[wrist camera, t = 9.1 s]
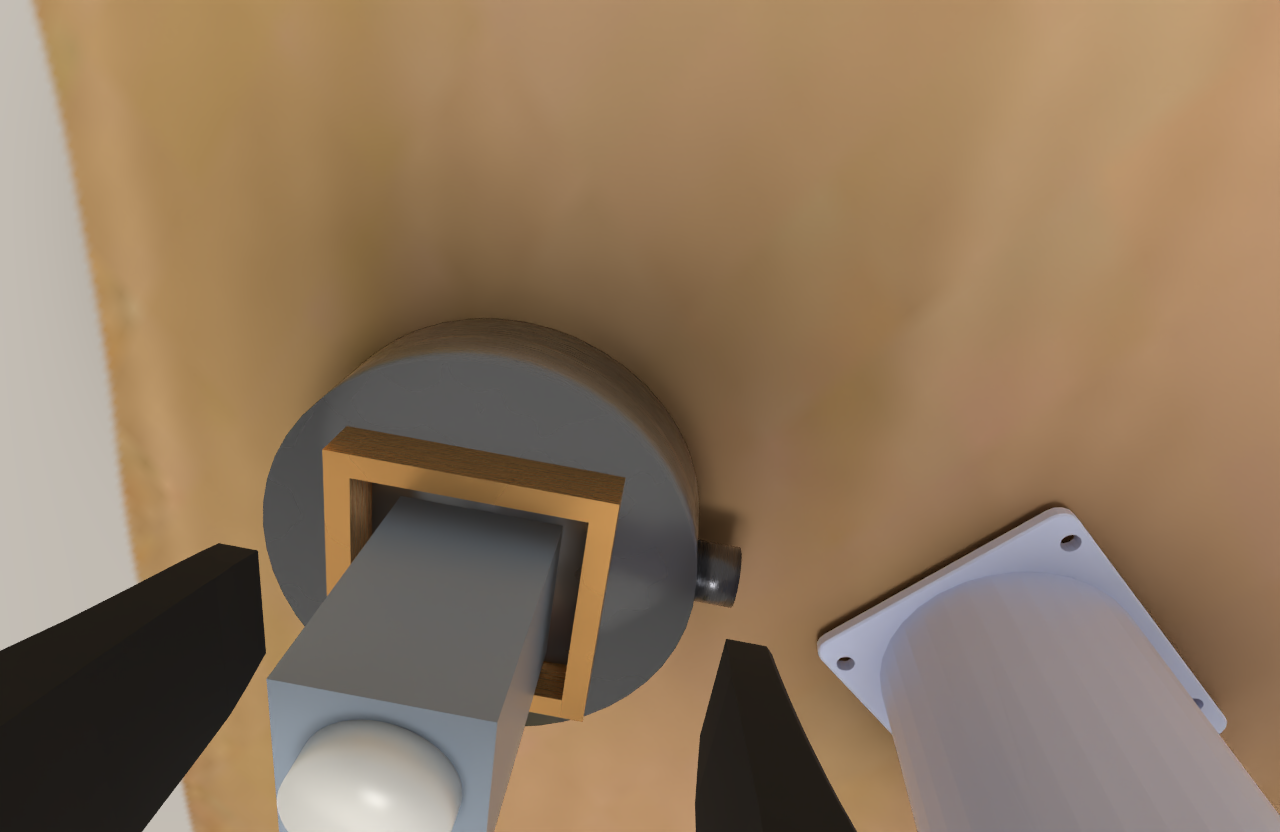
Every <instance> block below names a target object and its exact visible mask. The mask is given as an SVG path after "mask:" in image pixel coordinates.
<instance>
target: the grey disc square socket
mask: <svg viewBox="0 0 1280 832" xmlns="http://www.w3.org/2000/svg"><path fill="white" fill-rule="evenodd" d="M400 496H403V497H409V498H414V499H419V500H425V501H430V502H436V503H441V504H446V505H452V506H457V507H463V508H468V509H473V510H479V511H484V512H490V513H495V514H500V515H506V516H511V517H517V518H522V519H528V520H533V521H538V522H544V523H549V524H555V525H560V526H563V531H562V538H561V546H560V554H559V561H558V569H557V576H556V584H555V591H554V599H553V606H552V614H551V621H550V629H549V637H548V644H547V651H546V655H545V658H544V662H543V665H542V669H541V672H540V675H539V679H538V682H537V686H536V689H535V693H534V696H533V699H532V703H531V706H530V710H529V713H528V717H527V720H526V723H525V726H538V725H545V724H552V723H558V722H564V721H568V720H575V721H580V722H582V721H583V716H586V715H588V714H591V713H593V712H596V711H598V710H601V709H603V708H606V707H608V706H610V705H612V704H614V703H615V702H617V701H619V700H621V699H623V698H624V697H626V696H628V695H629V694H631V693H632V692H633V691H635V690H636V689H637V688H639V687H640V686H641V685H643V684H644V683H645V682H647V681H648V680H649V679H650V678H651V677H652V676H653V675H654V674H655V673H656V672H657V671H658V670H659V669H660V668H661V667H662V666H663V664H664V663H665V661H666V660H667V659H668V657H669V656H670V655H671V653H672V652H673V651H674V649H675V648H676V646H677V644H678V642H679V640H680V638H681V636H682V634H683V632H684V630H685V629H686V626H687V623H688V620H689V617H690V614H691V610H692V607H693V602H694V601H697V602H703V603H708V604H713V605H719V606H724V607H729V608H731V607H732V606H733V603H734V601H735V597H736V593H737V589H738V584H739V578H740V571H741V558H742V553H741V548H740V547H734V546H729V545H724V544H718V543H713V542H708V541H702V540H698V533H699V491H698V485H697V479H696V473H695V469H694V466H693V463H692V460H691V457H690V453H689V450H688V448H687V446H686V444H685V442H684V440H683V437H682V435H681V433H680V431H679V429H678V427H677V426H676V424H675V423H674V421H673V420H672V418H671V417H670V415H669V413H668V412H667V410H666V409H665V407H664V406H663V405H662V404H661V402H660V401H659V400H658V399H657V398H656V397H655V396H654V394H653V393H652V392H651V391H650V390H649V389H648V387H647V386H646V385H645V384H643V383H642V382H641V381H640V380H639V379H638V378H637V377H636V376H635V375H633V374H632V373H631V372H630V371H629V370H628V369H627V368H625V367H624V366H623V365H621V364H620V363H618V362H617V361H615V360H614V359H612V358H611V357H610V356H608V355H607V354H605V353H604V352H602V351H600V350H598V349H596V348H595V347H593V346H591V345H589V344H587V343H585V342H583V341H581V340H579V339H577V338H575V337H572V336H569V335H567V334H564V333H561V332H559V331H556V330H553V329H550V328H546V327H542V326H538V325H534V324H530V323H526V322H520V321H511V320H503V319H466V320H459V321H452V322H445V323H440V324H437V325H433V326H430V327H426V328H423V329H419V330H417V331H414V332H412V333H410V334H408V335H406V336H403V337H401V338H399V339H397V340H395V341H393V342H392V343H390V344H388V345H387V346H385V347H384V348H382V349H381V350H379V351H378V352H376V353H375V354H373V355H372V356H371V357H370V358H369V359H368V360H366V361H365V362H364V363H363V364H362V365H360V366H359V367H358V368H357V369H356V370H355V371H353V372H352V373H351V374H350V375H349V376H347V377H346V378H345V379H344V380H343V381H341V382H340V383H339V384H338V385H337V386H336V387H334V388H333V389H332V390H331V391H330V392H328V393H327V394H326V395H325V396H324V397H323V398H321V399H320V400H319V401H318V402H317V403H316V404H315V405H314V406H312V407H311V408H310V409H309V410H308V411H307V412H306V413H305V414H303V415H302V416H301V418H300V419H299V420H298V421H297V423H296V424H295V425H294V426H293V428H292V429H291V430H290V431H289V433H288V434H287V435H286V437H285V439H284V441H283V443H282V444H281V446H280V448H279V450H278V452H277V453H276V455H275V458H274V460H273V463H272V466H271V469H270V472H269V475H268V478H267V483H266V489H265V495H264V501H263V527H264V534H265V541H266V547H267V552H268V555H269V558H270V562H271V565H272V568H273V572H274V574H275V576H276V578H277V581H278V583H279V585H280V587H281V590H282V592H283V594H284V596H285V597H286V599H287V601H288V602H289V604H290V606H291V607H292V609H293V611H294V612H295V614H296V616H297V617H298V618H299V619H300V621H301V622H302V623H303V625H304V626H306V625H307V623H308V622H309V620H310V619H311V618H312V616H313V615H314V614H315V612H316V611H317V610H318V608H319V607H320V605H321V604H322V603H323V601H324V600H325V599H326V597H327V596H328V595H329V593H330V592H331V590H332V589H333V588H334V586H335V585H336V584H337V582H338V581H339V580H340V578H341V577H342V575H343V574H344V573H345V571H346V570H347V569H348V567H349V566H350V565H351V563H352V562H353V560H354V559H355V558H356V556H357V555H358V554H359V552H360V551H361V550H362V548H363V547H364V545H365V544H366V543H367V541H368V540H369V539H370V537H371V536H372V535H373V533H374V532H375V530H376V529H377V528H378V526H379V525H380V524H381V522H382V521H383V520H384V518H385V517H386V515H387V514H388V513H389V511H390V510H391V509H392V507H393V506H394V505H395V503H396V502H397V500H398V499H399V498H400Z"/></svg>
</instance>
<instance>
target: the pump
mask: <svg viewBox="0 0 1280 832" xmlns="http://www.w3.org/2000/svg"><path fill="white" fill-rule="evenodd" d="M562 531H563V526H560V525H555V524H549V523H544V522H538V521H533V520H528V519H522V518H517V517H511V516H506V515H500V514H495V513H490V512H484V511H479V510H473V509H468V508H463V507H457V506H452V505H446V504H441V503H436V502H430V501H425V500H419V499H414V498H409V497H403V496H400V498H399V499H398V500H397V502H396V503H395V505H394V506H393V507H392V509H391V510H390V511H389V513H388V514H387V515H386V517H385V518H384V520H383V521H382V522H381V524H380V525H379V526H378V528H377V529H376V530H375V532H374V533H373V535H372V536H371V537H370V539H369V540H368V541H367V543H366V544H365V545H364V547H363V548H362V550H361V551H360V552H359V554H358V555H357V556H356V558H355V559H354V560H353V562H352V563H351V565H350V566H349V567H348V569H347V570H346V571H345V573H344V574H343V575H342V577H341V578H340V580H339V581H338V582H337V584H336V585H335V586H334V588H333V589H332V590H331V592H330V593H329V595H328V596H327V597H326V599H325V600H324V601H323V603H322V604H321V605H320V607H319V608H318V610H317V611H316V612H315V614H314V615H313V616H312V618H311V619H310V620H309V622H308V623H307V625H306V626H305V627H304V629H303V630H302V631H301V633H300V634H299V635H298V637H297V638H296V640H295V641H294V642H293V644H292V645H291V646H290V648H289V649H288V650H287V652H286V653H285V655H284V656H283V657H282V659H281V660H280V661H279V663H278V664H277V665H276V667H275V668H274V670H273V671H272V672H271V674H270V675H269V676H268V678H267V689H268V701H269V713H270V725H271V737H272V750H273V762H274V774H275V786H276V798H277V810H278V822H279V832H494V830H495V826H496V823H497V820H498V816H499V813H500V809H501V806H502V802H503V799H504V796H505V792H506V789H507V785H508V782H509V778H510V775H511V772H512V768H513V765H514V761H515V758H516V754H517V751H518V748H519V744H520V741H521V737H522V734H523V730H524V727H525V723H526V720H527V717H528V713H529V710H530V706H531V703H532V699H533V696H534V693H535V689H536V686H537V682H538V679H539V675H540V672H541V669H542V665H543V662H544V658H545V655H546V651H547V644H548V637H549V629H550V621H551V614H552V606H553V599H554V591H555V584H556V576H557V569H558V561H559V554H560V546H561V538H562Z"/></svg>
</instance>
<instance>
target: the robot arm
mask: <svg viewBox="0 0 1280 832" xmlns="http://www.w3.org/2000/svg"><path fill="white" fill-rule="evenodd" d="M1069 535H1075V536H1074V538H1073V539H1072V540H1071V541H1070V542H1066V543H1061V540H1062V539H1063V538H1065V537H1066V536H1069ZM817 650H818V655H819V657H820V659H821V660H822V661H823V662H824V663H825V664H826V665H827V666H828V667H829V669H830V670H831V671H832V672H833V673H834V674H835V675H836V676H837V677H838V678H839V679H840V680H841V681H842V682H843V683H844V684H845V685H846V686H847V688H848V689H849V690H850V691H851V692H852V693H853V694H854V695H855V696H856V697H857V698H858V699H859V700H860V701H861V702H862V703H863V704H864V706H865V707H866V708H867V709H868V710H869V711H870V712H871V713H872V714H873V715H874V716H875V717H876V718H877V719H878V720H879V721H880V722H881V724H882V725H883V726H884V727H885V728H886V729H887V730H888V731H889V732H890V733H891V734H892V735H893V739H894V743H895V747H896V751H897V754H898V758H899V762H900V766H901V770H902V774H903V778H904V781H905V785H906V789H907V793H908V797H909V801H910V804H911V808H912V812H913V816H914V820H915V824H916V828H917V831H918V832H1280V815H1279V814H1278V813H1277V811H1276V810H1275V809H1274V807H1273V806H1272V805H1271V803H1270V802H1269V801H1268V799H1267V798H1266V797H1265V795H1264V794H1263V792H1262V791H1261V790H1260V788H1259V787H1258V786H1257V784H1256V783H1255V782H1254V780H1253V779H1252V778H1251V776H1250V775H1249V774H1248V772H1247V771H1246V770H1245V768H1244V767H1243V766H1242V764H1241V763H1240V762H1239V760H1238V759H1237V758H1236V756H1235V755H1234V754H1233V752H1232V751H1231V750H1230V748H1229V747H1228V746H1227V744H1226V743H1225V742H1224V740H1223V739H1222V738H1221V736H1220V735H1219V734H1220V733H1221V732H1222V731H1223V730H1224V729H1225V728H1226V725H1227V720H1226V717H1225V716H1224V715H1223V713H1222V712H1221V711H1220V709H1219V708H1218V707H1217V705H1216V704H1215V703H1214V701H1213V700H1212V699H1211V697H1210V696H1209V695H1208V693H1207V692H1206V691H1205V689H1204V688H1203V686H1202V685H1201V684H1200V682H1199V681H1198V680H1197V678H1196V677H1195V676H1194V674H1193V673H1192V672H1191V670H1190V669H1189V668H1188V666H1187V665H1186V664H1185V662H1184V661H1183V660H1182V658H1181V657H1180V656H1179V654H1178V653H1177V651H1176V650H1175V649H1174V647H1173V646H1172V645H1171V643H1170V642H1169V641H1168V639H1167V638H1166V637H1165V635H1164V634H1163V633H1162V631H1161V630H1160V629H1159V627H1158V626H1157V625H1156V623H1155V622H1154V620H1153V619H1152V618H1151V616H1150V615H1149V614H1148V612H1147V611H1146V610H1145V608H1144V607H1143V606H1142V604H1141V603H1140V602H1139V600H1138V599H1137V598H1136V596H1135V595H1134V594H1133V592H1132V591H1131V589H1130V588H1129V587H1128V585H1127V584H1126V583H1125V581H1124V580H1123V579H1122V577H1121V576H1120V575H1119V573H1118V572H1117V571H1116V569H1115V568H1114V567H1113V565H1112V564H1111V563H1110V561H1109V560H1108V558H1107V557H1106V556H1105V554H1104V553H1103V552H1102V550H1101V549H1100V548H1099V546H1098V545H1097V544H1096V542H1095V541H1094V540H1093V538H1092V537H1091V536H1090V534H1089V533H1088V532H1087V530H1086V529H1085V527H1084V526H1083V525H1082V523H1081V522H1080V521H1079V519H1078V518H1077V517H1076V516H1075V514H1074V513H1073V512H1071V511H1070V510H1069V509H1066V508H1063V507H1056V508H1051V509H1049V510H1046V511H1044V512H1043V513H1041V514H1039V515H1037V516H1035V517H1034V518H1032V519H1030V520H1028V521H1026V522H1025V523H1023V524H1021V525H1019V526H1017V527H1016V528H1014V529H1012V530H1010V531H1008V532H1007V533H1005V534H1003V535H1001V536H999V537H998V538H996V539H994V540H992V541H990V542H989V543H987V544H985V545H983V546H981V547H980V548H978V549H976V550H974V551H973V552H971V553H969V554H967V555H965V556H964V557H962V558H960V559H958V560H956V561H955V562H953V563H951V564H949V565H947V566H946V567H944V568H942V569H940V570H938V571H937V572H935V573H933V574H931V575H929V576H928V577H926V578H924V579H922V580H920V581H919V582H917V583H915V584H913V585H912V586H910V587H908V588H906V589H904V590H903V591H901V592H899V593H897V594H895V595H894V596H892V597H890V598H888V599H886V600H885V601H883V602H881V603H879V604H877V605H876V606H874V607H872V608H870V609H868V610H867V611H865V612H863V613H861V614H859V615H858V616H856V617H854V618H852V619H850V620H849V621H847V622H845V623H843V624H842V625H840V626H838V627H836V628H834V629H833V630H831V631H829V632H827V633H825V634H824V635H823V636H821V637H820V638H819V640H818V642H817ZM265 653H266V648H265V636H264V623H263V610H262V598H261V585H260V573H259V560H258V551H257V550H252V549H246V548H241V547H236V546H230V545H225V544H220V543H218V544H216V545H214V546H212V547H210V548H208V549H205V550H203V551H201V552H199V553H197V554H195V555H193V556H191V557H189V558H187V559H185V560H183V561H181V562H179V563H177V564H175V565H173V566H171V567H169V568H167V569H165V570H164V571H162V572H160V573H158V574H156V575H154V576H152V577H150V578H148V579H146V580H144V581H142V582H140V583H138V584H136V585H134V586H133V587H131V588H129V589H127V590H125V591H123V592H121V593H119V594H117V595H115V596H113V597H111V598H109V599H107V600H105V601H103V602H101V603H99V604H97V605H95V606H93V607H91V608H89V609H87V610H85V611H83V612H81V613H79V614H77V615H75V616H73V617H71V618H69V619H68V620H65V621H63V622H61V623H59V624H57V625H55V626H52V627H50V628H48V629H46V630H44V631H42V632H40V633H37V634H35V635H33V636H31V637H29V638H27V639H25V640H23V641H20V642H18V643H16V644H14V645H12V646H10V647H7V648H5V649H3V650H1V651H0V832H142V831H143V830H144V828H145V827H146V826H147V824H148V823H149V822H150V820H151V819H152V818H153V816H154V815H155V814H156V813H157V811H158V810H159V809H160V807H161V806H162V805H163V803H164V802H165V801H166V799H167V798H168V797H169V795H170V794H171V793H172V791H173V790H174V789H175V788H176V786H177V785H178V784H179V782H180V781H181V780H182V778H183V777H184V776H185V774H186V773H187V772H188V770H189V769H190V768H191V767H192V765H193V764H194V763H195V761H196V760H197V759H198V757H199V756H200V755H201V753H202V752H203V751H204V749H205V748H206V747H207V745H208V744H209V743H210V741H211V740H212V739H213V737H214V736H215V735H216V733H217V732H218V731H219V729H220V728H221V726H222V725H223V724H224V722H225V721H226V720H227V718H228V717H229V715H230V714H231V712H232V711H233V709H234V707H235V706H236V704H237V702H238V701H239V699H240V697H241V696H242V694H243V692H244V691H245V689H246V687H247V686H248V684H249V682H250V680H251V679H252V677H253V675H254V673H255V671H256V670H257V668H258V666H259V664H260V662H261V661H262V659H263V657H264V655H265ZM842 657H850V659H849V660H847V661H839V659H840V658H842ZM695 816H696V832H857V831H856V829H855V828H854V826H853V824H852V822H851V821H850V819H849V817H848V815H847V813H846V812H845V810H844V808H843V806H842V805H841V803H840V801H839V799H838V797H837V795H836V793H835V792H834V790H833V788H832V786H831V784H830V782H829V780H828V778H827V776H826V774H825V772H824V770H823V768H822V766H821V764H820V762H819V760H818V758H817V756H816V754H815V752H814V750H813V748H812V746H811V744H810V742H809V740H808V738H807V736H806V734H805V732H804V730H803V728H802V725H801V723H800V721H799V719H798V717H797V714H796V712H795V710H794V708H793V705H792V703H791V701H790V698H789V696H788V694H787V691H786V689H785V687H784V684H783V682H782V679H781V677H780V674H779V672H778V669H777V667H776V664H775V661H774V659H773V656H772V654H771V652H770V651H769V649H768V648H767V647H766V646H761V645H756V644H751V643H745V642H740V641H735V640H729V639H726V642H725V645H724V649H723V653H722V657H721V660H720V664H719V668H718V671H717V675H716V679H715V683H714V686H713V690H712V694H711V697H710V701H709V705H708V709H707V712H706V716H705V720H704V723H703V727H702V731H701V734H700V744H699V757H698V770H697V784H696V799H695Z"/></svg>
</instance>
